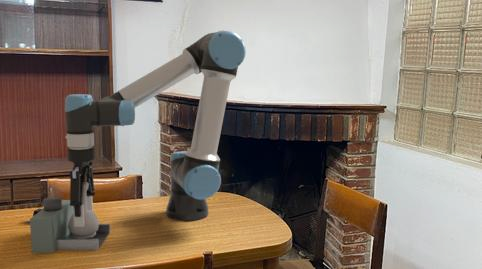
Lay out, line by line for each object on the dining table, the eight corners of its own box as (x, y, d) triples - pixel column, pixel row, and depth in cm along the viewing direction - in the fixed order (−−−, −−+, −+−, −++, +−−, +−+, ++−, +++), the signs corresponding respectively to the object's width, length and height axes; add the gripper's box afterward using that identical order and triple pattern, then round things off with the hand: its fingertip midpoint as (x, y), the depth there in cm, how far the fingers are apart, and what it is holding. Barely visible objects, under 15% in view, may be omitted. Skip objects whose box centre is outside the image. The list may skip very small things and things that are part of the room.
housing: (74, 229, 145) (72, 190, 143) (53, 252, 128) (50, 208, 126) (55, 229, 145) (53, 190, 143) (31, 252, 127) (29, 208, 125)
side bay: (110, 232, 144) (110, 223, 143) (97, 250, 130) (97, 240, 130) (72, 232, 143) (72, 223, 143) (55, 250, 130) (55, 240, 129)
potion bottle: (94, 240, 132) (91, 180, 129) (64, 239, 132) (61, 180, 129) (103, 229, 141) (101, 173, 138) (75, 229, 141) (72, 173, 138)
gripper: (79, 141, 142) (82, 210, 146) (54, 153, 122) (58, 234, 125) (103, 141, 143) (105, 210, 146) (82, 154, 122) (85, 234, 126)
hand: (84, 221), depth 136 cm, fingers closed on potion bottle, 8 cm apart
